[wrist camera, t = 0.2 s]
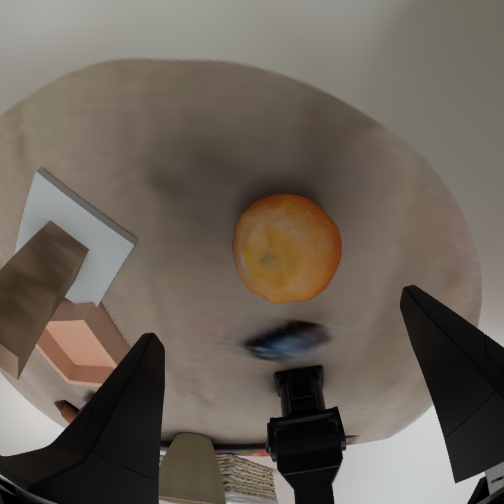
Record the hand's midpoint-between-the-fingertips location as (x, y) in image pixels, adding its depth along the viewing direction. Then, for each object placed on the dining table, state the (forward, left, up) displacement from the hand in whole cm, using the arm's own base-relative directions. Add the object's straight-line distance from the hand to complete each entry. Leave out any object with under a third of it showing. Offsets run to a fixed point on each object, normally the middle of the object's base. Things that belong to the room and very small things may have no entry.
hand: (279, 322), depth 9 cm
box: (-15, +26, -14) cm, 33 cm away
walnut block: (-2, +20, -13) cm, 24 cm away
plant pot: (-50, +22, -15) cm, 56 cm away
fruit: (-4, -1, -15) cm, 15 cm away
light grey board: (-2, +20, -14) cm, 25 cm away
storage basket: (-73, +19, -15) cm, 77 cm away
